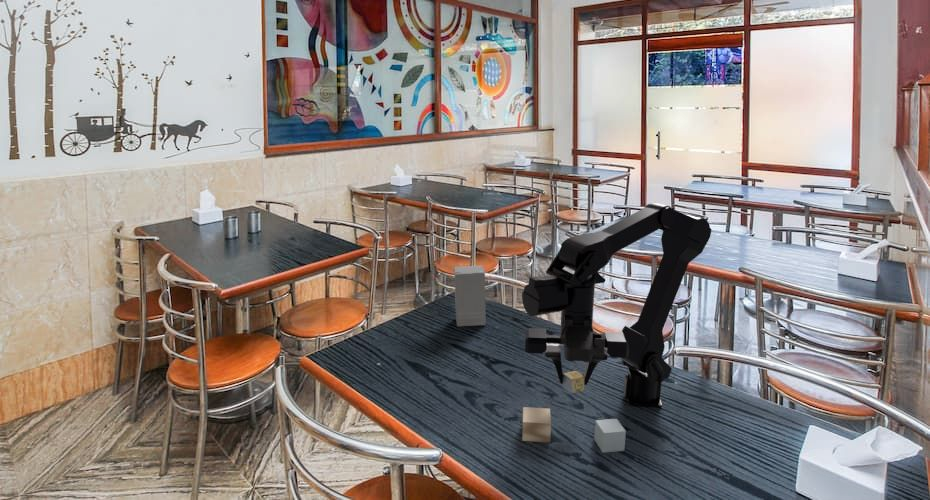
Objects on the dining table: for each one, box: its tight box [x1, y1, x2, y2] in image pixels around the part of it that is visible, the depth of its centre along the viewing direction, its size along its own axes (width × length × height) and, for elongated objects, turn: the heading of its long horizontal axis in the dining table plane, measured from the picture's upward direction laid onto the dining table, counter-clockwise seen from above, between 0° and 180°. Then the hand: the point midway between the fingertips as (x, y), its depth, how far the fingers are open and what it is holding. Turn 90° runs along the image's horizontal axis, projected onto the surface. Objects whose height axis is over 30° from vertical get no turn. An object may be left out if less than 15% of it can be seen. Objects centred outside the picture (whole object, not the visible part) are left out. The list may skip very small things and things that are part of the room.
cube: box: [593, 418, 627, 454], centre depth 98 cm, size 4×4×4 cm
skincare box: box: [453, 265, 487, 327], centre depth 151 cm, size 8×7×16 cm
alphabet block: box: [561, 370, 585, 394], centre depth 105 cm, size 3×3×3 cm
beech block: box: [521, 406, 552, 443], centre depth 102 cm, size 5×5×4 cm
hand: (573, 383), depth 105 cm, fingers closed on alphabet block, 4 cm apart
